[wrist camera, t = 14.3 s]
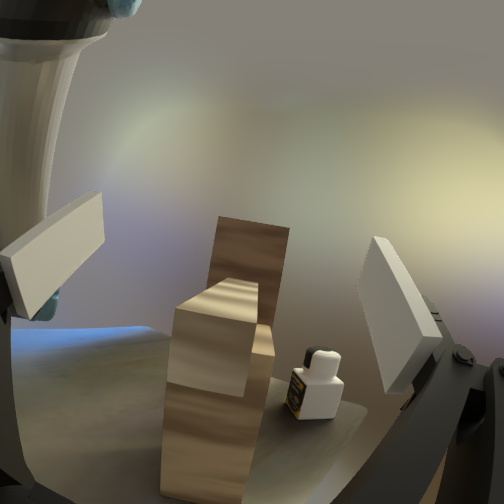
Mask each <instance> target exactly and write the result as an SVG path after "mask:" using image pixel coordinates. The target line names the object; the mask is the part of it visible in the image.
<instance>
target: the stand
mask: <svg viewBox="0 0 504 504" xmlns="http://www.w3.org/2000/svg"><path fill="white" fill-rule="evenodd" d="M289 229H290V228H286V227H280V226H274V225H268V224H263V223H257V222H251V221H245V220H239V219H233V218H227V217H221V216H219V217H218V223H217V228H216V233H215V240H214V245H213V251H212V257H211V262H210V269H209V275H208V281H207V287H206V290H207V289H209V288H211V287H212V286H214V285H216V284H218V283H219V282H221V281H223V280H225V279H226V278H234V279H240V280H245V281H251V282H257V283H258V305H257V324H261V325H268V326H270V329H271V332H272V326H273V321H274V315H275V310H276V304H277V299H278V293H279V288H280V282H281V277H282V271H283V265H284V258H285V253H286V247H287V240H288V235H289Z"/></svg>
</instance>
